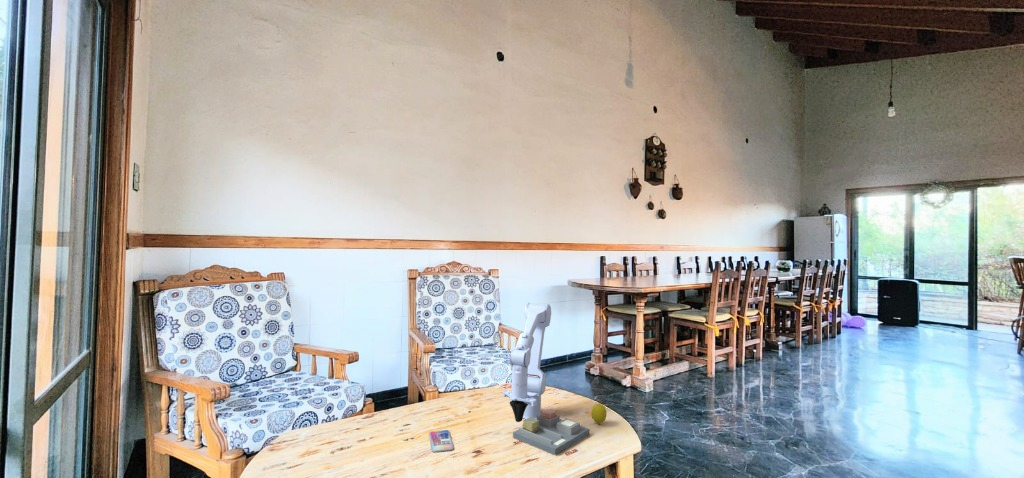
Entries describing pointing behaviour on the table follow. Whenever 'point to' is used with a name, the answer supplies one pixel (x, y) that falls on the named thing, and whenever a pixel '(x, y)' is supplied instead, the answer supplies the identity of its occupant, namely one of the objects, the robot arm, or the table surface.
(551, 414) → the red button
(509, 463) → the table surface
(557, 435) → the panel
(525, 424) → the slider knob
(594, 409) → the lemon
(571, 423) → the cream button
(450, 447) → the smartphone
